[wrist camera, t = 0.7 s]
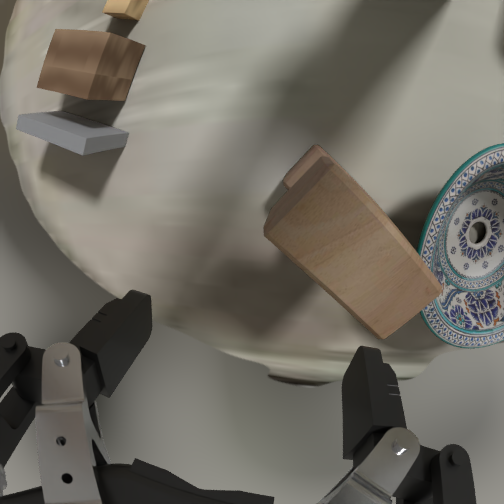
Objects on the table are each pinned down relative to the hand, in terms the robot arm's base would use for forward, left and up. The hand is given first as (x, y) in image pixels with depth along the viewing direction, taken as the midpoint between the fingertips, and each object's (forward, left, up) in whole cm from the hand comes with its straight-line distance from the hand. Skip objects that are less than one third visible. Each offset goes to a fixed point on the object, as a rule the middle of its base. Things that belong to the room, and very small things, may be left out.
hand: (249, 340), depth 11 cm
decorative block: (-2, +5, -27) cm, 27 cm away
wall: (+2, -29, -27) cm, 40 cm away
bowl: (-7, +25, -27) cm, 37 cm away
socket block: (-7, -29, -27) cm, 40 cm away
